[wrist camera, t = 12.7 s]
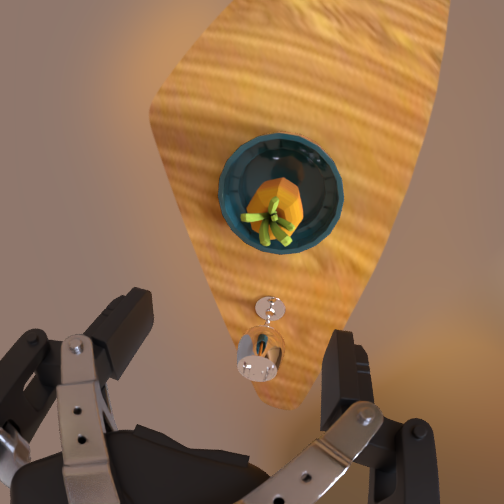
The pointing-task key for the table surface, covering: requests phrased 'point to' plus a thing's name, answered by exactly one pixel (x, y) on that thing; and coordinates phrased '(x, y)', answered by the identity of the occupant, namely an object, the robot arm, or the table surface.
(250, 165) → the bowl
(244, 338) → the wineglass
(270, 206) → the carrot
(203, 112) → the table surface
